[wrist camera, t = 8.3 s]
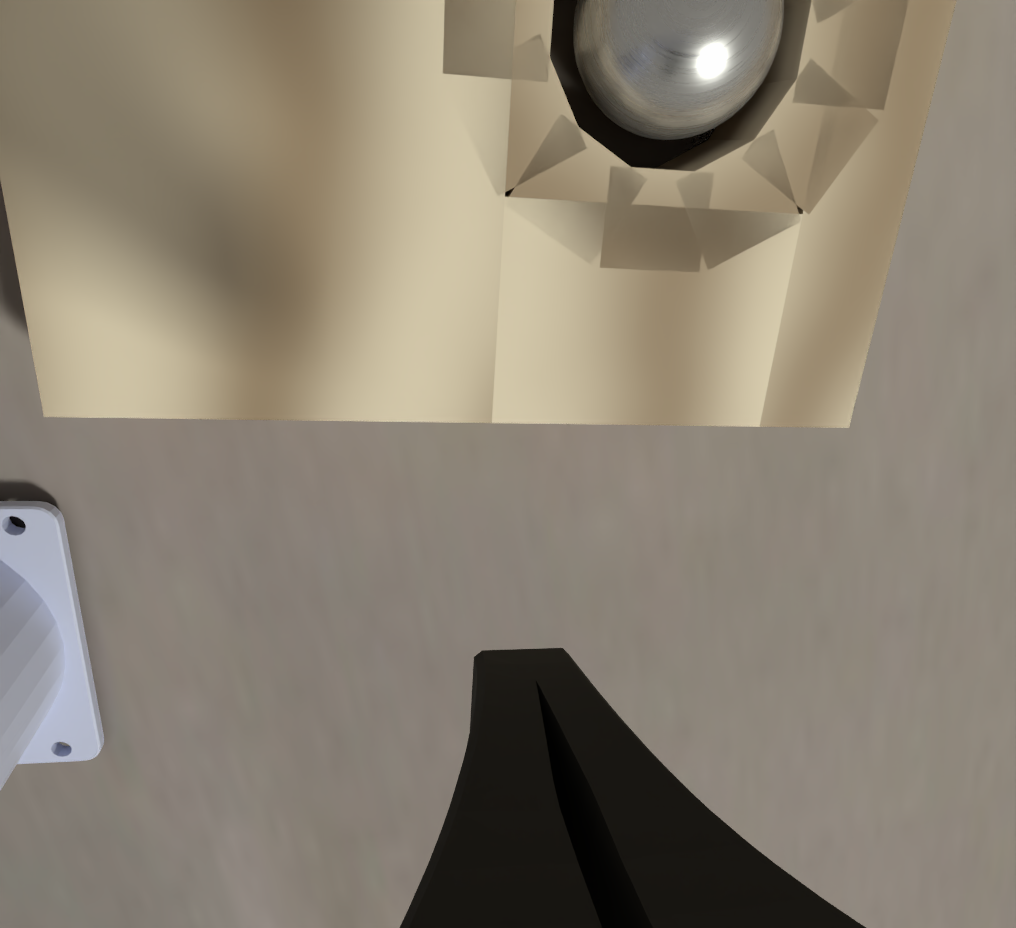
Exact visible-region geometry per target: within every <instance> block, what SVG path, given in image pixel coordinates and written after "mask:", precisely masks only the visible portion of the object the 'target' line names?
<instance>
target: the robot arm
mask: <svg viewBox="0 0 1016 928" xmlns="http://www.w3.org/2000/svg"><path fill="white" fill-rule="evenodd" d="M10 516H14V517H18V518H20V519H21V520H23V521H24V523H25V525H26V528H21V527H17V526H15V525H14V524H12V522H11V520H10V519H9V518H10ZM59 742H65V743H67V744H69V745H70V746H64V745H62V744H60V743H59ZM103 744H104V734H103V729H102V724H101V718H100V713H99V707H98V702H97V696H96V691H95V685H94V680H93V675H92V669H91V664H90V658H89V653H88V647H87V642H86V637H85V631H84V626H83V620H82V615H81V609H80V604H79V598H78V593H77V588H76V582H75V577H74V571H73V566H72V560H71V555H70V550H69V544H68V539H67V533H66V528H65V522H64V518H63V516H62V513H61V512H60V511H59V510H58V509H57V508H56V507H55V506H54V505H52V504H50V503H48V502H42V501H0V790H1V789H2V787H3V786H4V784H5V782H6V781H7V779H8V777H9V776H10V774H11V772H12V771H13V769H14V768H15V766H16V764H28V763H48V762H68V761H85V760H90V759H93V758H94V757H96V756H97V755H98V754H99V752H100V750H101V748H102V746H103ZM400 928H866V927H864V926H863V925H861V924H860V923H858V922H856V921H855V920H854V919H852V918H851V917H849V916H848V915H846V914H845V913H843V912H842V911H840V910H839V909H837V908H836V907H834V906H833V905H831V904H830V903H828V902H827V901H825V900H824V899H823V898H821V897H820V896H818V895H817V894H816V893H814V892H813V891H811V890H810V889H809V888H807V887H806V886H805V885H803V884H802V883H801V882H799V881H798V880H796V879H795V878H794V877H792V876H791V875H790V874H788V873H787V872H786V871H784V870H783V869H781V868H780V867H779V866H777V865H776V864H775V863H773V862H772V861H771V860H770V859H768V858H767V857H766V856H764V855H763V854H762V853H761V852H759V851H758V850H757V849H756V848H754V847H753V846H752V845H751V844H749V843H748V842H747V841H746V840H745V839H743V838H742V837H741V836H740V835H739V834H737V833H736V832H735V831H734V830H733V829H732V828H730V827H729V826H728V825H727V824H726V823H725V822H723V821H722V820H721V819H720V818H719V817H717V816H716V815H715V814H714V813H713V812H712V811H710V810H709V809H708V808H707V807H706V806H705V805H704V804H703V803H702V802H701V801H700V800H699V799H698V798H696V797H695V796H694V795H693V794H692V793H691V792H690V791H689V790H688V789H687V788H686V787H685V786H684V785H683V784H682V783H681V782H680V781H679V780H678V779H677V778H676V777H675V776H674V775H673V774H672V773H671V772H670V771H669V770H668V769H667V768H666V767H665V766H664V765H663V764H662V763H661V762H660V761H659V760H658V759H657V758H656V757H655V756H654V754H653V753H652V752H651V751H650V750H649V749H648V748H647V747H646V746H645V745H644V744H643V742H642V741H641V740H640V739H639V738H638V737H637V736H636V735H635V734H634V733H633V731H632V730H631V729H630V728H629V727H628V726H627V725H626V724H625V723H624V721H623V720H622V719H621V718H620V717H619V716H618V714H617V713H616V712H615V711H614V710H613V709H612V707H611V706H610V705H609V704H608V703H607V701H606V700H605V699H604V698H603V697H602V695H601V694H600V693H599V692H598V691H597V689H596V688H595V687H594V686H593V684H592V683H591V682H590V681H589V679H588V678H587V677H586V676H585V674H584V673H583V672H582V671H581V669H580V668H579V667H578V666H577V664H576V663H575V662H574V660H573V659H572V658H571V657H570V655H569V654H568V653H567V652H566V651H565V650H564V649H563V648H548V649H517V650H486V651H481V652H480V653H479V654H477V655H476V656H475V657H474V667H473V685H472V704H471V722H470V734H469V739H468V744H467V748H466V753H465V757H464V760H463V764H462V767H461V771H460V774H459V777H458V781H457V784H456V788H455V791H454V794H453V798H452V801H451V804H450V807H449V810H448V813H447V816H446V819H445V822H444V824H443V827H442V830H441V833H440V835H439V838H438V841H437V843H436V846H435V848H434V851H433V853H432V856H431V858H430V861H429V863H428V866H427V868H426V871H425V873H424V875H423V877H422V880H421V882H420V884H419V886H418V889H417V891H416V893H415V896H414V898H413V900H412V902H411V905H410V907H409V909H408V911H407V913H406V916H405V918H404V920H403V922H402V924H401V926H400Z"/></svg>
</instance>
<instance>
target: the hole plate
mask: <svg viewBox="0 0 1016 928" xmlns="http://www.w3.org/2000/svg"><path fill="white" fill-rule="evenodd" d="M955 4H956V0H784V19H783V28H782V34H781V39H780V43H779V46H778V50H777V53H776V55H775V58H774V60H773V63H772V65H771V67H770V70H769V72H768V73H767V75H766V77H765V79H764V81H763V82H762V84H761V85H760V87H759V88H758V89H757V91H756V92H755V93H754V95H753V96H752V97H751V99H750V100H749V101H748V102H747V103H746V104H745V105H744V106H743V107H742V108H741V109H740V110H739V111H738V112H736V113H735V114H734V115H733V116H732V117H730V118H729V119H728V120H726V121H724V122H723V123H721V124H720V125H718V126H717V127H716V129H715V130H714V132H713V133H712V135H711V136H710V138H709V139H708V140H707V141H705V142H704V143H702V144H700V145H698V146H696V147H694V148H692V149H691V150H689V151H687V152H685V153H683V154H681V155H679V156H677V157H676V158H674V159H672V160H670V161H668V162H666V163H664V164H662V165H661V166H659V167H657V168H649V167H634V166H629V165H628V164H626V163H625V162H624V161H622V160H621V159H620V158H618V157H617V156H616V155H615V154H613V153H612V152H611V151H609V150H608V149H607V148H605V147H604V146H603V145H601V144H600V143H599V142H598V141H596V140H595V139H594V138H592V137H591V136H590V135H588V134H587V133H586V132H585V131H583V130H582V129H581V128H579V127H578V125H577V122H576V120H575V117H574V115H573V112H572V110H571V108H570V105H569V103H568V100H567V98H566V95H565V93H564V90H563V88H562V86H561V83H560V81H559V78H558V76H557V73H556V71H555V68H554V66H553V64H552V61H551V59H550V47H551V33H552V20H553V7H554V0H0V181H1V186H2V191H3V197H4V202H5V208H6V213H7V218H8V224H9V229H10V235H11V240H12V246H13V251H14V256H15V262H16V267H17V273H18V278H19V284H20V289H21V294H22V300H23V305H24V311H25V316H26V321H27V327H28V332H29V338H30V343H31V349H32V354H33V359H34V365H35V370H36V376H37V381H38V386H39V392H40V397H41V403H42V408H43V414H44V417H92V418H165V419H239V420H312V421H386V422H460V423H533V424H607V425H681V426H754V427H828V428H849V425H850V421H851V417H852V413H853V409H854V405H855V401H856V397H857V393H858V389H859V385H860V381H861V377H862V373H863V369H864V365H865V362H866V358H867V354H868V350H869V346H870V342H871V338H872V334H873V330H874V326H875V322H876V318H877V314H878V310H879V306H880V302H881V298H882V294H883V290H884V286H885V282H886V278H887V274H888V270H889V266H890V262H891V258H892V254H893V250H894V246H895V242H896V238H897V235H898V231H899V227H900V223H901V219H902V215H903V211H904V207H905V203H906V199H907V195H908V191H909V187H910V183H911V179H912V175H913V171H914V167H915V163H916V159H917V155H918V151H919V147H920V143H921V139H922V135H923V131H924V127H925V123H926V119H927V115H928V112H929V108H930V104H931V100H932V96H933V92H934V88H935V84H936V80H937V76H938V72H939V68H940V64H941V60H942V56H943V52H944V48H945V44H946V40H947V36H948V32H949V28H950V24H951V20H952V16H953V12H954V8H955Z"/></svg>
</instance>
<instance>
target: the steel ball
mask: <svg viewBox="0 0 1016 928" xmlns="http://www.w3.org/2000/svg"><path fill="white" fill-rule="evenodd" d="M783 19H784V0H578V1H577V5H576V9H575V16H574V27H573V39H574V52H575V59H576V63H577V66H578V70H579V73H580V76H581V78H582V81H583V83H584V86H585V88H586V90H587V91H588V93H589V95H590V97H591V98H592V100H593V101H594V103H595V104H596V105H597V107H598V108H599V109H600V110H601V111H602V112H603V113H604V114H605V115H606V116H607V117H608V118H609V119H610V120H612V121H613V122H614V123H615V124H617V125H618V126H620V127H622V128H623V129H625V130H627V131H629V132H631V133H634V134H636V135H639V136H642V137H646V138H650V139H659V140H676V139H682V138H688V137H692V136H696V135H699V134H702V133H704V132H707V131H709V130H711V129H713V128H715V127H717V126H718V125H720V124H721V123H723V122H724V121H726V120H728V119H729V118H730V117H732V116H733V115H734V114H735V113H736V112H738V111H739V110H740V109H741V108H742V107H743V106H744V105H745V104H746V103H747V102H748V101H749V100H750V99H751V97H752V96H753V95H754V93H755V92H756V91H757V89H758V88H759V87H760V85H761V84H762V82H763V81H764V79H765V77H766V75H767V73H768V72H769V70H770V67H771V65H772V63H773V60H774V58H775V55H776V53H777V50H778V46H779V43H780V39H781V34H782V28H783Z"/></svg>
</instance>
